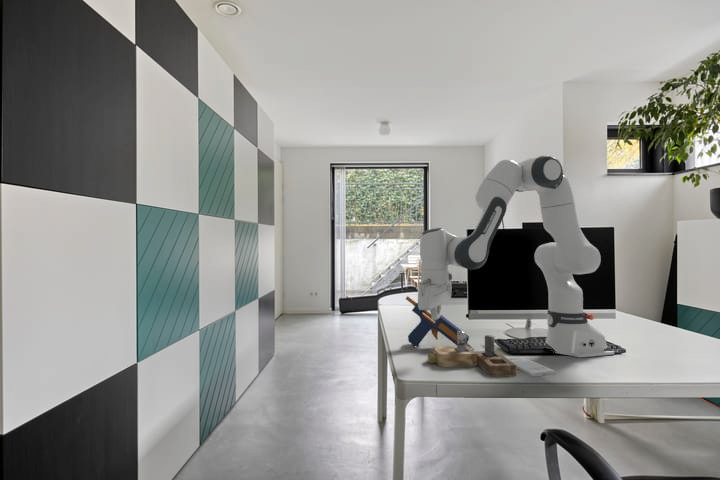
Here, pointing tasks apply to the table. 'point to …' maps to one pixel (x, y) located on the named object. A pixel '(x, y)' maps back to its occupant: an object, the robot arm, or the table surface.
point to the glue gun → (432, 327)
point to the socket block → (455, 357)
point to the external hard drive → (532, 367)
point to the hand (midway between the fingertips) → (435, 319)
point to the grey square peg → (461, 341)
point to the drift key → (432, 358)
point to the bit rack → (494, 360)
